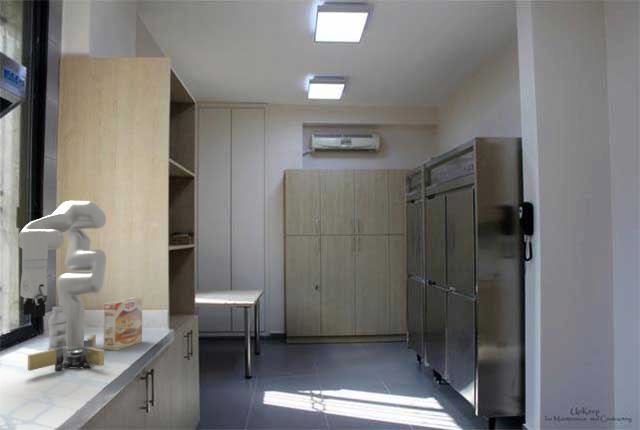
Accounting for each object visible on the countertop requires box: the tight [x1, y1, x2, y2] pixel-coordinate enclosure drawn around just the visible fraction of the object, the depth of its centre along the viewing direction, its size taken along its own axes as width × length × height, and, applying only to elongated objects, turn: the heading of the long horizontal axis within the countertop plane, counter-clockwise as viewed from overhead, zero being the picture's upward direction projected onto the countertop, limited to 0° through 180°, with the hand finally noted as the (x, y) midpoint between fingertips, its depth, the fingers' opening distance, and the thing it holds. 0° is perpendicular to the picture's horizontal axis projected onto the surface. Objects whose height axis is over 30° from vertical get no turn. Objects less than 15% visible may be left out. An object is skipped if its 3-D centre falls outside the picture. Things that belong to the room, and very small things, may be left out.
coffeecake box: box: [102, 297, 143, 351], centre depth 185 cm, size 15×7×20 cm, turn 158°
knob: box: [84, 334, 97, 348], centre depth 168 cm, size 11×3×8 cm, turn 17°
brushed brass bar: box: [27, 348, 64, 372], centre depth 149 cm, size 11×3×8 cm, turn 147°
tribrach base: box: [62, 348, 83, 370], centre depth 157 cm, size 9×10×5 cm
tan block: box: [82, 346, 105, 370], centre depth 152 cm, size 11×3×8 cm, turn 57°
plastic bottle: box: [47, 305, 69, 354], centre depth 166 cm, size 6×7×20 cm
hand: (34, 315), depth 150 cm, fingers open, 7 cm apart
